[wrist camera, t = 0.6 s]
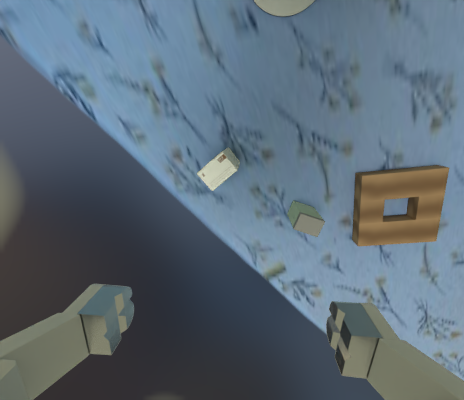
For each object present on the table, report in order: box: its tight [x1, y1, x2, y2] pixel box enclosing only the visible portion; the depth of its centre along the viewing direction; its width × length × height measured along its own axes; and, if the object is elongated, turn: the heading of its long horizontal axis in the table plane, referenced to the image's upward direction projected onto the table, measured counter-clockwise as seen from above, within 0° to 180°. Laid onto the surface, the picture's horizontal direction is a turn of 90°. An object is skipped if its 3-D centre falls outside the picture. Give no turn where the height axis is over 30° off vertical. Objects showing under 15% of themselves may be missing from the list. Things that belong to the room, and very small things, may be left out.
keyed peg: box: [287, 201, 325, 237], centre depth 48 cm, size 4×5×8 cm
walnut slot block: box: [352, 165, 449, 246], centre depth 48 cm, size 16×16×3 cm
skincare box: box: [197, 147, 240, 191], centre depth 44 cm, size 6×4×12 cm
